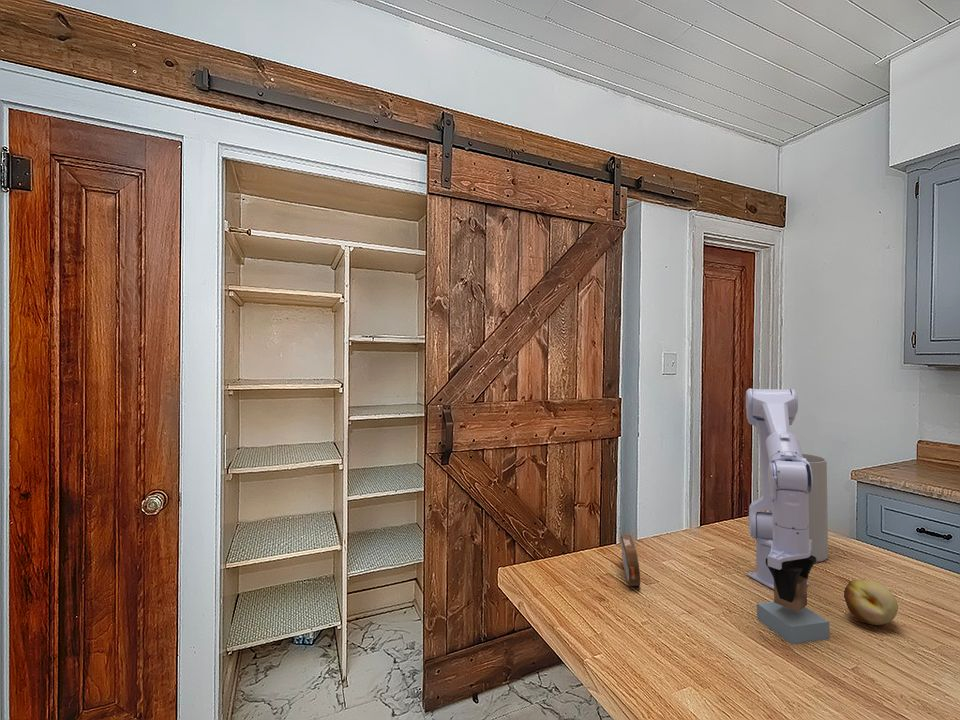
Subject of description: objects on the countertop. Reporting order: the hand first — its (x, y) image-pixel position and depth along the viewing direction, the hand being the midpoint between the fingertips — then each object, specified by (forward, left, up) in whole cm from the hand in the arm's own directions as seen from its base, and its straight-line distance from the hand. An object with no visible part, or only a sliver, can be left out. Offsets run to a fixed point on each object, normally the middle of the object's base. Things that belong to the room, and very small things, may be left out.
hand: (791, 595), depth 86 cm
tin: (+17, -27, -6) cm, 33 cm away
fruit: (-16, +3, -6) cm, 18 cm away
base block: (0, 0, -7) cm, 7 cm away
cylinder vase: (-32, -25, -6) cm, 41 cm away
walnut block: (0, 0, -2) cm, 2 cm away
